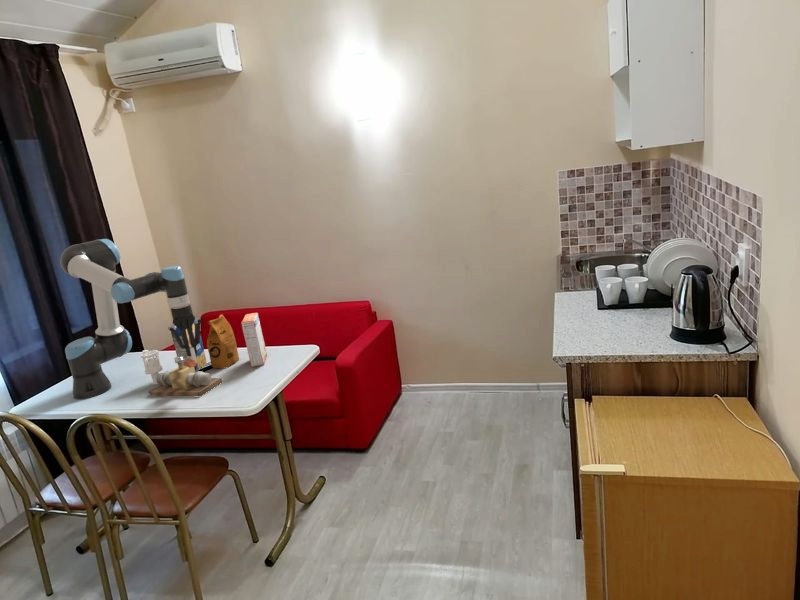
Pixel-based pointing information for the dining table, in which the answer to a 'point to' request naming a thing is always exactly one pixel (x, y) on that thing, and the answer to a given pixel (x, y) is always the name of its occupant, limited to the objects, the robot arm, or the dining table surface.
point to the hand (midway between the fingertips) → (194, 362)
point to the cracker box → (254, 339)
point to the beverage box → (200, 350)
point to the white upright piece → (152, 364)
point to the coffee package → (221, 343)
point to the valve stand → (184, 382)
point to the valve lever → (185, 361)
